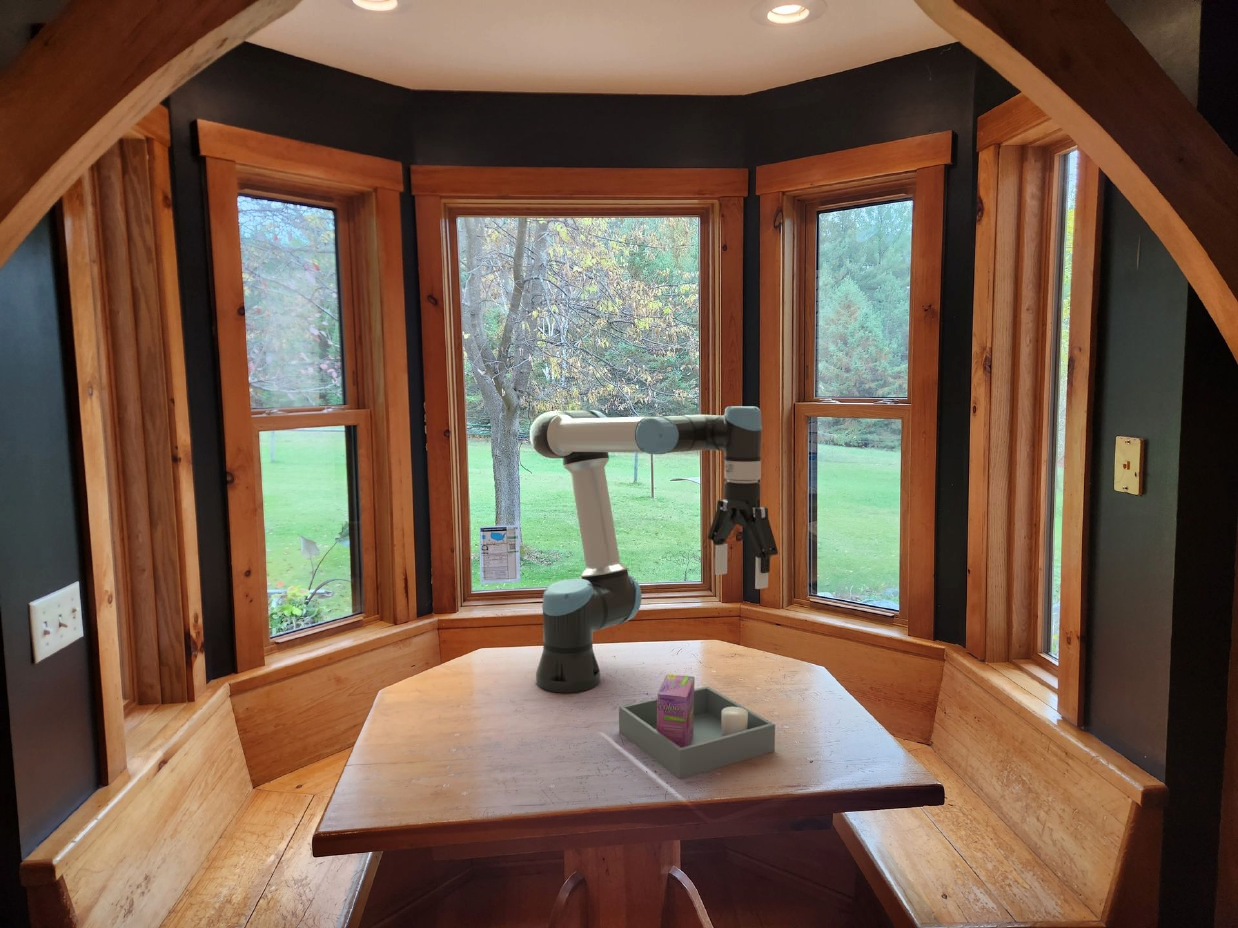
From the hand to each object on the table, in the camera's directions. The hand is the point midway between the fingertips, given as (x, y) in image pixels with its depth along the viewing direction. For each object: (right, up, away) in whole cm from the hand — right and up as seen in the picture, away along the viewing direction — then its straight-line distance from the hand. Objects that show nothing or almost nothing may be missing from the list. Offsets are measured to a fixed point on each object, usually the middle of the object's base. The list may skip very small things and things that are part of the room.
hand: (740, 580), depth 164 cm
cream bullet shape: (-3, -29, -13) cm, 32 cm away
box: (-15, -30, -14) cm, 36 cm away
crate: (-11, -30, -12) cm, 34 cm away
